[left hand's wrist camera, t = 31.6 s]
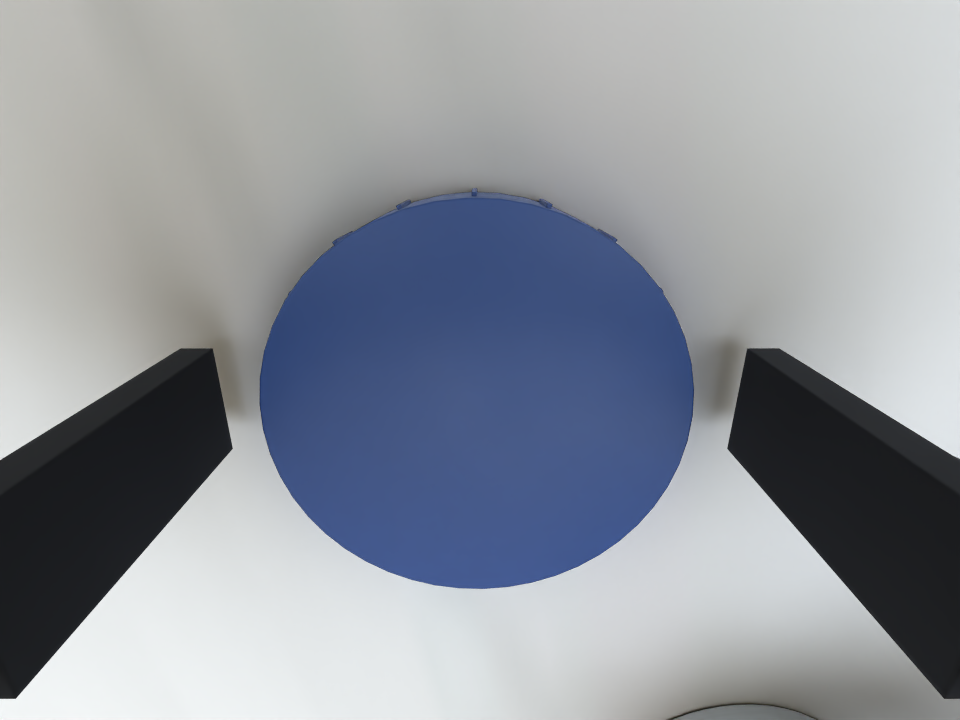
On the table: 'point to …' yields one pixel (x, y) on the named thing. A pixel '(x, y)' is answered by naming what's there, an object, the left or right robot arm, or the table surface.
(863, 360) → the table surface
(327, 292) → the lid
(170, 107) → the table surface
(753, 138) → the table surface
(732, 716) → the jar
